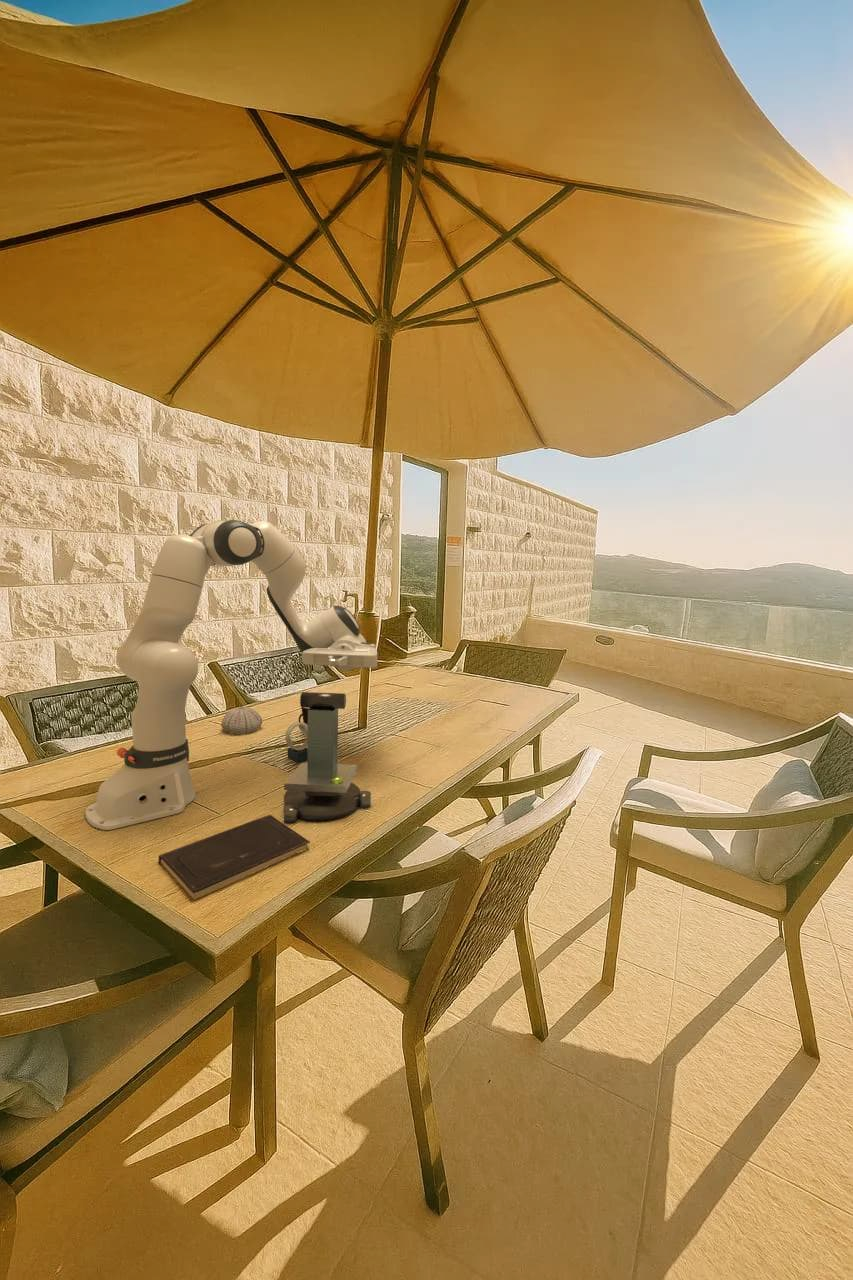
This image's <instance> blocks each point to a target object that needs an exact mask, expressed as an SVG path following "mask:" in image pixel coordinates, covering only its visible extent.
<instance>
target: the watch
mask: <svg viewBox="0 0 853 1280" xmlns="http://www.w3.org/2000/svg"><path fill="white" fill-rule="evenodd" d="M297 727H298V728H299V730H300V732H301V733H302V735H304V737H306V738H305V740H304V742H303V743H302V744H298V745H295V744H294V742H293V740H292V737H291V734H292V732H293V731H294V729H295V728H297ZM285 731H286V732H285V735H284V736H285V739H284V740H285V742H286V743H287V745H288V747H287V759H289V760H290V761H291V762H293V761H294V762H293V763H295V764H298V763H299V764H301V763H306V762H307V757H308V725H307V724H305V723H304V722H303V721H302V722H301V723H300V722H299V721H297V722H292V724H291V725H289V726H288V727H287V729H286V730H285Z"/></svg>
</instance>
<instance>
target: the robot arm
mask: <svg viewBox="0 0 853 1280" xmlns="http://www.w3.org/2000/svg"><path fill="white" fill-rule="evenodd" d="M250 562H252V563H253V564H255V565H256V567H257V568H258V569H259V570H260V572H261V573H262V574H263V575H264V576H265V578H266V580H267V582H268V583H267V584H268V585H267V588H266V593H267V596H268V597H267V598H268V600H269V602H270V603H271V605H272V606H273V608H274V610H275V612H276V613H277V615H278V616H279V618H280V619H281V621H282V623H283V624H284V626H285V627H286V629H287V630H288V632H289V633H290V634H291V636H292V638H293V640H294V642H295V644H296V646H297V647H298V649H299V651H300V652H301V653H302V654H301V661H302V662H301V663H302V664H303V665H306V666H327V667H335V668H336V669H338V670H342V671H349V670H354V669H359V668H371V669H373V668H377V667H378V650H377V647H376V646H377V645H376V644H374V643H370V642H368V643H367V641H366V639H365V637H364V636H363V635H362V634H361V633H360V632H361V629H360V628H361V627H360V624H359V622H358V621H357V619H356V617H355V616H354V615H353V613H352V612H351V611H350V610H349V609H348V608H346V607H344V606H341V605H333V606H332V607H330V608H328V609H327V610H325V611H323V612H322V613H321V614H319V615H318V616H316V617H315V618H313V619H312V620H310V621H308V622H302V620H301V619H300V617H299V615H298V614H297V612H296V611H295V609H294V608H293V606H292V604H291V600H292V597H294V595H295V593H296V591H297V590H298V589H299V587H300V586H301V585H302V583H303V581H304V578H305V575H306V571H307V570H306V569H307V567H306V566H307V565H306V561H305V559H304V558H303V555H302V554H301V553H300V551H299V550H298V549H297V548H296V546H295V545H294V544H293V543H292V542H291V541H290V540H289V539H288V537H286V535H284V534H283V533H282V531H281V530H279V529H278V528H277V527H276V526H275V525H274V524H272V523H271V522H269V521H268V520H257V521H255V522H253V523H251V524H249V523H247V522H244V521H242V520H237V519H230V520H224V519H222V520H221V519H219V520H214V521H211V522H206V523H203V524H201V525H199V526H198V527H197V528H196V529H194V530H193V531H192V533H190V534H189V535H188V534H173V535H171V536H168V537H167V538H166V539H165V541H164V542H163V544H162V546H161V548H160V550H159V552H158V555H157V557H156V559H155V561H154V565H153V568H152V572H151V576H150V579H149V583H148V586H147V590H146V592H145V593H146V594H145V596H144V601H143V604H142V606H141V609H140V612H139V613H138V616H137V618H136V620H135V621H134V624H133V626H132V627H131V630H130V632H129V634H128V636H127V638H126V640H124V642H122V643H121V645H120V646H119V647H118V649H117V651H116V654H115V656H116V657H115V660H116V664H117V666H118V668H119V669H120V671H121V672H122V673H123V674H124V675H125V676H126V677H127V678H128V679H130V680H133V681H134V682H137V684H138V694H137V699H136V704H135V707H134V709H133V711H132V712H131V731H132V746H131V747H130V748H129V749H127V748H125V747H119V748H118V749H117V751H116V755H117V756H118V757H119V758H121V759H123V760H124V762H123V763H124V764H123V765H122V766H121V767H119V768H118V769H117V770H116V771H115V772H114V773H113V774H111V775H110V776H109V777H108V778H106V779H105V780H104V781H103V782H102V783H101V784H100V786H99V788H98V791H97V796H96V802H94V803H92V804H90V805H88V806H87V808H86V810H85V815H86V816H85V820H86V819H87V820H86V821H87V822H88V823H89V824H90V825H91V826H92V827H94V828H95V827H96V828H95V829H98V828H99V829H98V830H103V831H111V830H115V829H120V828H123V827H127V826H131V825H132V826H133V825H136V824H140V823H144V822H149V821H152V820H157V819H160V818H164V817H169V816H172V815H177V814H180V813H183V811H184V810H185V809H186V806H187V805H188V804H190V803H191V802H192V801H193V800H194V799H195V798H196V795H197V793H196V790H195V789H194V785H193V782H192V779H191V774H190V769H189V762H190V760H189V759H190V757H189V756H190V749H189V748H190V747H189V741H188V739H187V733H186V731H187V730H186V729H187V728H186V706H187V700H188V695H189V691H190V687H191V685H192V684H193V683H194V682H195V680H196V678H197V676H198V673H199V663H198V660H197V658H196V656H195V655H194V653H192V652H191V651H190V650H189V649H188V648H186V647H185V646H184V645H182V644H180V643H179V642H180V639H181V638H182V636H183V634H184V633H185V631H186V630H187V628H188V627H189V625H190V624H192V623H193V622H194V621H195V619H196V616H197V611H198V608H199V603H200V599H201V596H202V591H203V588H204V583H205V578H206V575H207V573H208V571H209V570H210V568H211V567H212V566H221V567H232V566H233V567H234V566H242V565H246V564H247V563H250Z"/></svg>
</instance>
